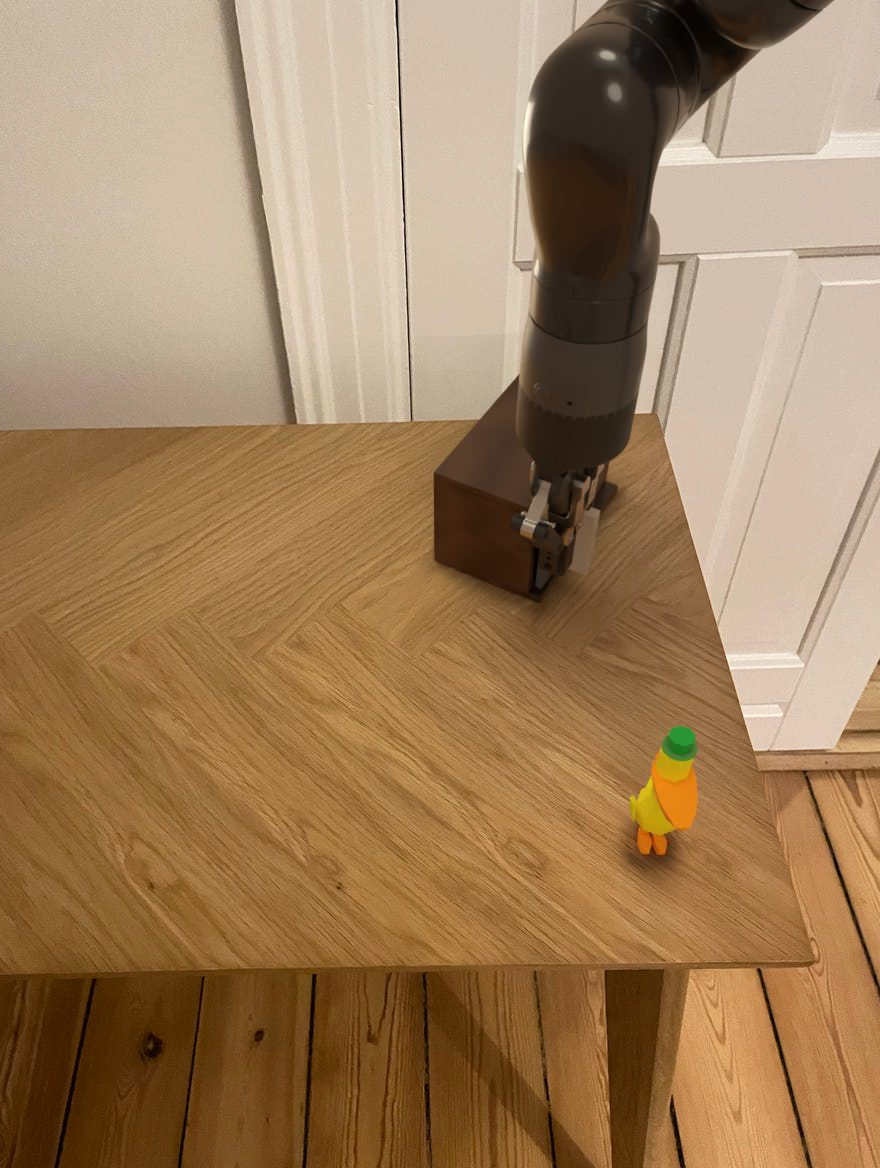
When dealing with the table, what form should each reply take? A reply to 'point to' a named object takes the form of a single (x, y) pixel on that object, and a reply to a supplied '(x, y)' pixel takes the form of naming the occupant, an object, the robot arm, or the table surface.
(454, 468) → the cupboard
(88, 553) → the table surface
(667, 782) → the toy figure
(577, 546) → the door
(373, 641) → the table surface
